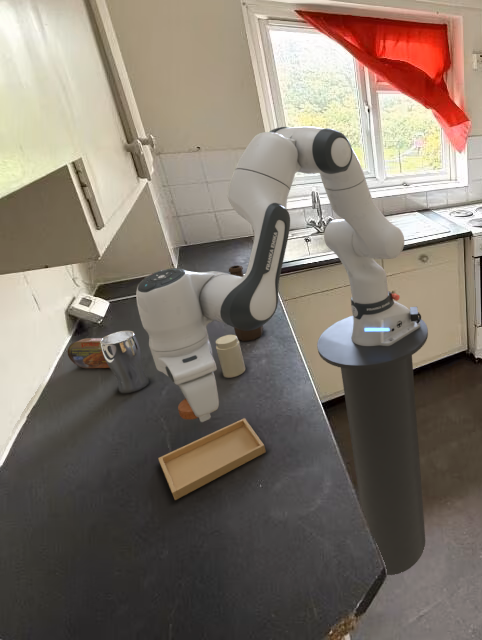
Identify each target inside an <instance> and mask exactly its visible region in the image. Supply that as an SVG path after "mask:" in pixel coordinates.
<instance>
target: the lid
mask: <svg viewBox="0 0 482 640" xmlns="http://www.w3.org/2000/svg"><path fill="white" fill-rule="evenodd" d="M177 409H178V410H177V411H178V413H179V417H180V418H181V419H183V420H196V419H199V418H198V417H196V416H195V414H194V412H193V410H192V409H191V407H190V405H189V403H188V402H187V400H186V398H184V399H182V400H181V401H180V402H179V404H178V406H177Z"/></svg>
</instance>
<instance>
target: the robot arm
mask: <svg viewBox="0 0 482 640" xmlns="http://www.w3.org/2000/svg"><path fill="white" fill-rule="evenodd" d="M296 173H301V174H319V175H320V180H321V182H322V185H323V188H324V190H325V194H326V196H327V198H328V201H329V204H330V207H331V209H332V211H333V212H334V213H335V214H336V216H338V217H339V219H333V220H332V221H330V222H328V223H327V225H326V227H325V229H324V233H323V239H324V240H323V241H324V243H325V245H326V247H328V249H330V251H332V252H333V253H334V254H335V256H336V257H337V258H338V259H339V260H340V262H341V264H342V266H343V267H344V270H345V272H346V274H347V276H348V281H349V287H350V288H349V289H350V295H351V296H350V307H351V313H352V316H353V318H354V320H353V332H352V337H351V339H352V341H353V342H354V343H356V344H358V345H361V346H378V345H381V346H390V345H392V344H394V343H395V342H397V341H399V340H400V339H402V338H403V337H405V336H407V335H408V334H410V333H412V332H413V331H415V330H416V329H418V328H419V327H420V320H421V319H422V315H421V313H420V312H419V311H418V306H410V307H409V308H408V307H407V306H406V305H404V304H402V303H400V302H398V301H399V300H400V298H401V297H400V295H399V294H397V293H393V292H391V291H389V287H388V278H387V272H386V270H385V269H384V267H382V265H380V264H379V263H377V261H376V260H390V259H396V258H397V257H399V256H400V254H401V253H402V252H403V249H404V247H405V236H404V234H403V232H402V230H401V229H400V228H399V227H397V226H396V225H394V224H393V223H392V222H390V220H388V218H387V217H385V215H384V214H383V213H382V212H381V210H380V209H379V207H378V206H377V204H376V203H375V201H374V199H373V196H372V194H371V191H370V189H369V186H368V185H369V184H368V183H367V180H366V176H365V173H364V169H363V168H362V165H361V163H360V160H359V158H358V156H357V154H356V153H355V151H354V149H353V147H352V145H351V142H350V140H349V139H348V138H347V136H346V135H345V134H344V133H343V132H341V131H338V130H337V129H332V128H328V127H327V128H322V127H316V126H305V125H303V126H292V127H288V126H280V127H276V128H273V129H271V130H269V131H263V132H260V133H256V135H255V136H253V138H252V139H251V140H250V142H249V143H248V145H247V146H246V148H245V149H244V151H243V153H242V154H241V156H240V158H239V159H238V161H237V164H236V166H235V168H234V170H233V173H232V176H231V177H230V180H229V183H228V187H227V195H226V196H227V199H228V200H227V201H228V202H229V205H230V206H231V207H232V208H233V210H234V211H235V212H236V214H238V215H239V216H240V217H242V218H243V219H244V220H245V221H247V222H248V223H249V224H250V225H251V228H252V229H253V233H254V239H253V244H252V247H251V248H252V249H251V251H250V257H249V260H248V265H247V269H246V272H245V273H244V274H243V275H244V276H243V277H240V276H235V275H232V274H230V273H227V272H221V271H216V270H215V271H213V270H211V271H210V270H209V271H201V272H200V271H199V272H198V271H189V270H187V269H184V268H179V267H172V268H166V269H162V270H161V269H160V270H157V271H155V272H152V273H151V274H149V275H147V276H145V277H144V278H143V279H141V281H140V282H139V283H138V284H137V287H136V293H135V294H136V295H135V297H136V298H135V299H136V306H137V310H138V314H139V318H140V321H141V325H142V328H143V329H144V330H145V332H146V333H147V335H148V338H149V339H148V347H149V350H150V353H151V357H152V359H153V363H154V365H155V368H156V370H157V371H158V372H160V373H163V374H164V375H165V376H167V377H168V378H169V379H170V380H171V381H172V382H173V383H174V385H176V386H178V388H179V390H180V392H181V393H182V395H183V396H184V399H186V400H187V402H188V403H189V405H190V407H191V409H192V410H193V412H194V414H195V416H196V417H198V418H197V419H198V420H199V422H200V423H204V422H207V421H208V420H210V419H211V418H212V416H211V413H214V412H215V411H217V410H218V409H219V406H220V400H219V393H218V392H219V391H218V387H217V381H216V376H215V373H214V372H216V371H217V368H218V367H217V363H216V361H215V358H214V355H213V348H212V345H211V341H210V335H209V333H208V330H207V326H208V325H209V324H210V323H212V322H218V323H222V324H225V325H228V326H230V327H232V328H234V327H235V328H237V329H240V330H243V331H250V330H254V329H257V328H259V327H261V326H262V325H263V326H264V325H265V324H267V323H268V322H269V321H270V320H271V319H272V318H273V317H274V315H275V313H276V311H277V309H278V304H279V286H280V278H281V274H282V268H283V264H284V259H285V255H286V250H287V245H288V240H289V236H290V229H291V216H290V212H289V211H288V206H287V204H288V198H289V194H290V192H291V189H292V186H293V182H294V179H295V175H296ZM340 218H341V219H340ZM375 259H376V260H375ZM418 317H419V319H418Z"/></svg>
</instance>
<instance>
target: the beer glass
mask: <svg viewBox="0 0 482 640" xmlns="http://www.w3.org/2000/svg"><path fill="white" fill-rule="evenodd" d="M101 338H102V339H101V340H100V344H101V348H102V352H103V355H104V358H105V360H106V362H107V364H108V366H109V367H110V368H109V369H110V371H111V372H112V373H113V374H114V376H115V378H116V379H117V386H118V391H119V393H121V394H131V393H135V392H138V391H140V390H142V389H144V388H145V387H147V386H148V385H149V384H150V380H149V378H148V376H147V375H146V374H145V371H144V368H143V366H144V365H143V355H142V349H141V345H140V343H139V341H138V338H137V336H136V334H135V331H133V330H121V331H116V332H112V333H110V334H108V335H105V336H103V337H101Z"/></svg>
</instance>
